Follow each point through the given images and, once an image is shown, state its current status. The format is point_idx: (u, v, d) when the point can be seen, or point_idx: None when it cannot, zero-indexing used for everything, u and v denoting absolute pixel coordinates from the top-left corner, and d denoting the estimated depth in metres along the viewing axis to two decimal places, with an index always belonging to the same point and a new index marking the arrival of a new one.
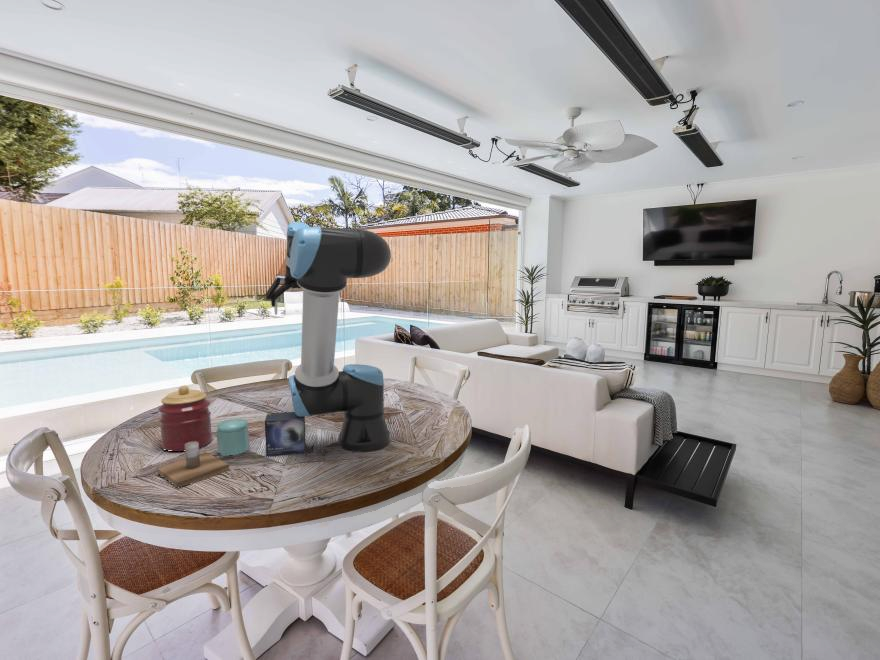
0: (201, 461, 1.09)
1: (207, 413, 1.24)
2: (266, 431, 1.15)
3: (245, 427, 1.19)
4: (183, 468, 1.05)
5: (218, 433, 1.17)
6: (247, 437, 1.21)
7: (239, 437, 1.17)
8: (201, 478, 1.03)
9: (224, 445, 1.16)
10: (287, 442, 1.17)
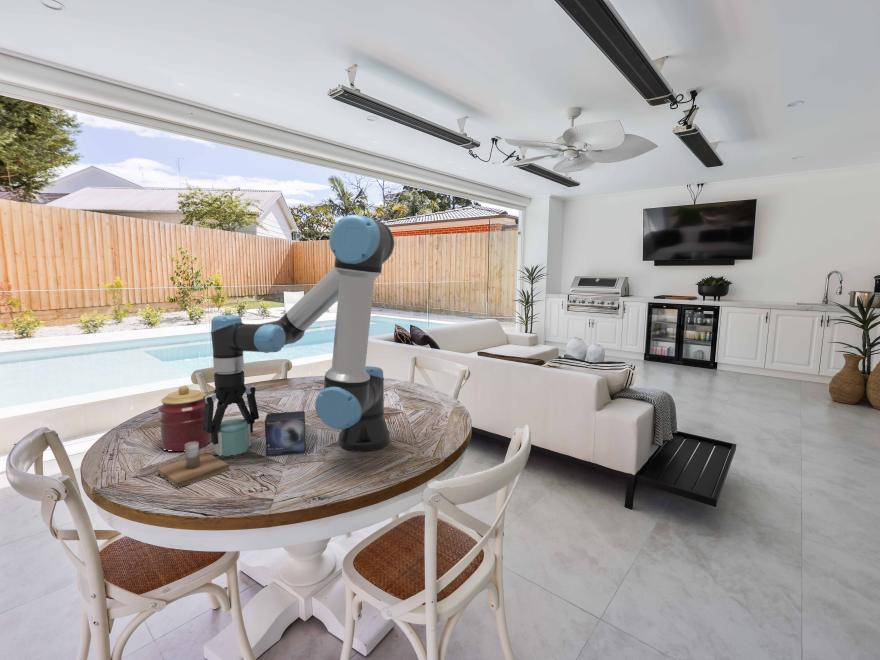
0: (201, 461, 1.09)
1: None
2: (266, 431, 1.15)
3: (245, 427, 1.19)
4: (183, 468, 1.05)
5: None
6: (247, 437, 1.21)
7: (239, 437, 1.17)
8: (201, 478, 1.03)
9: (224, 445, 1.16)
10: (287, 442, 1.17)
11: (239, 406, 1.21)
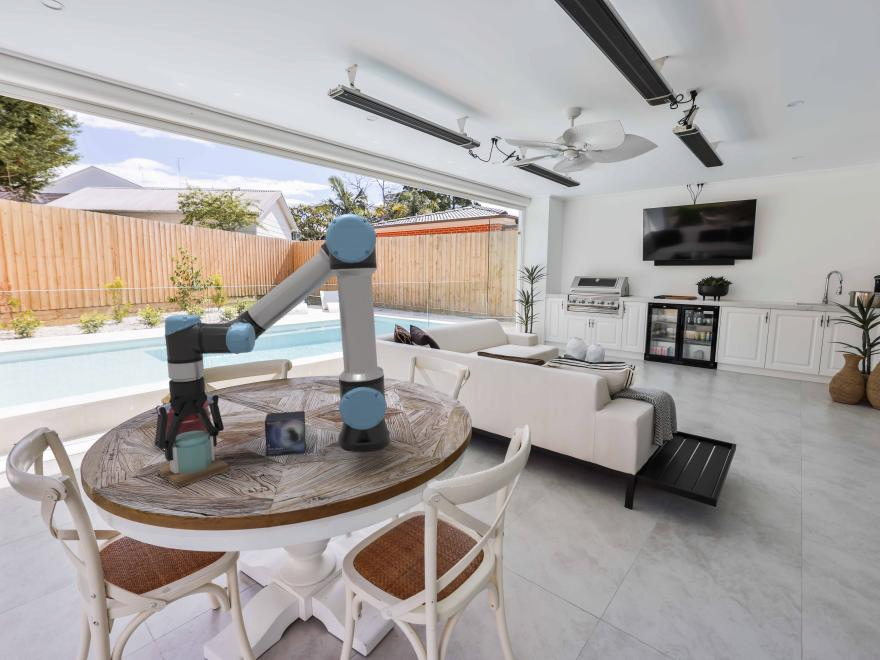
0: None
1: (207, 413, 1.24)
2: (266, 431, 1.15)
3: (207, 437, 1.08)
4: None
5: (182, 450, 1.02)
6: None
7: (207, 448, 1.06)
8: (201, 478, 1.03)
9: (193, 460, 1.03)
10: (287, 442, 1.17)
11: (200, 417, 1.07)
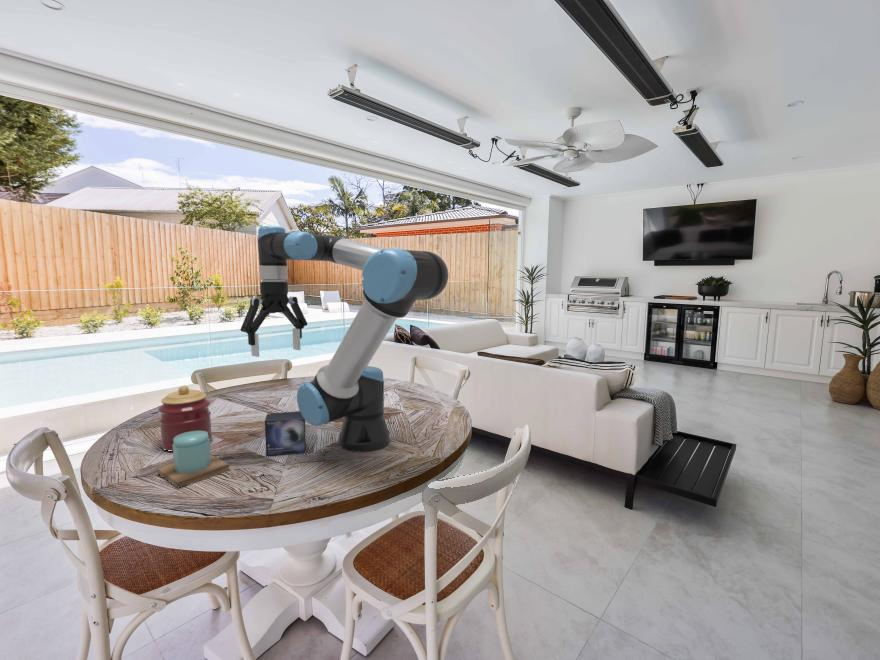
0: None
1: (207, 413, 1.24)
2: (266, 431, 1.15)
3: None
4: None
5: (195, 448, 1.03)
6: None
7: None
8: (201, 478, 1.03)
9: (205, 456, 1.05)
10: (287, 442, 1.17)
11: (286, 315, 1.27)
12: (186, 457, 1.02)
